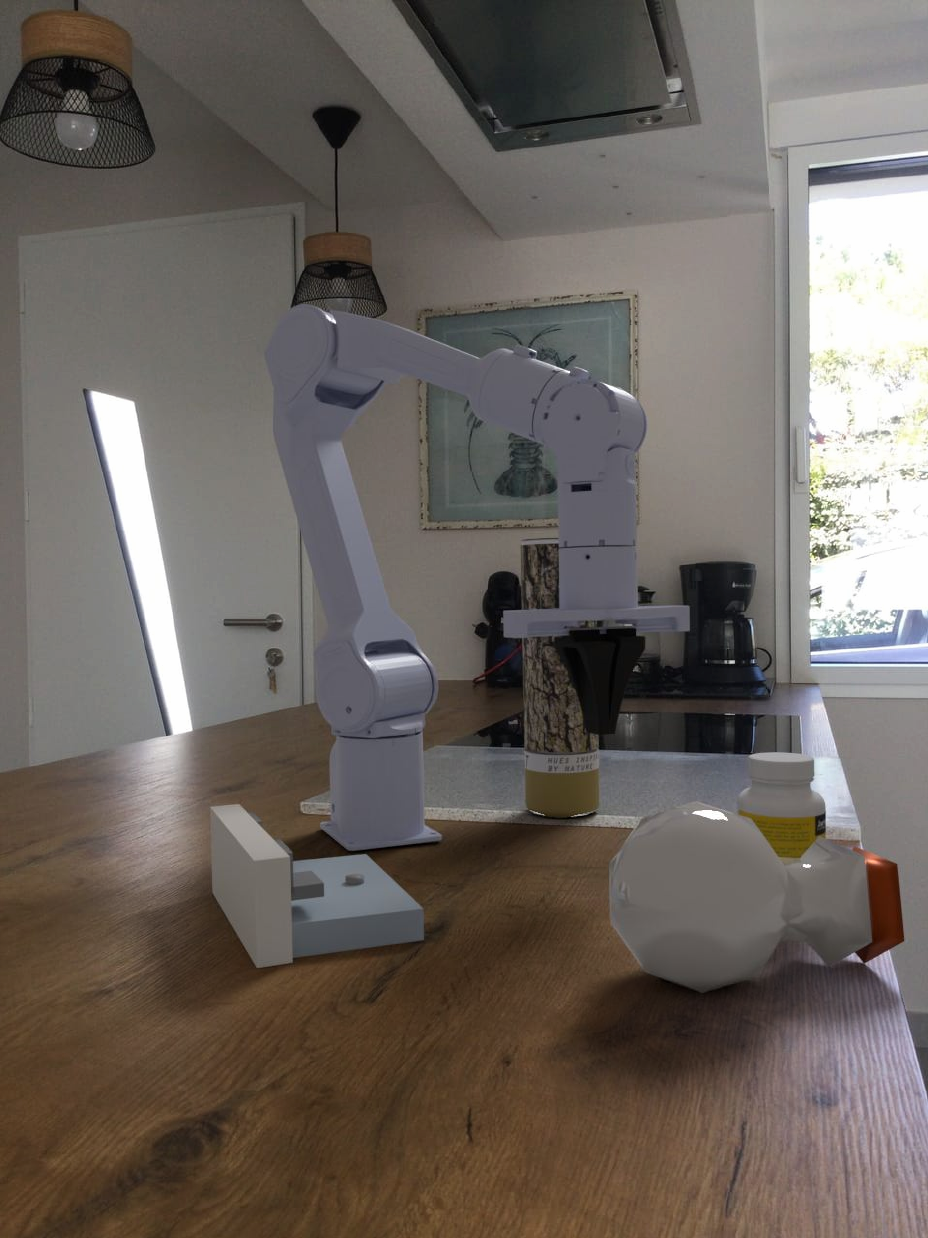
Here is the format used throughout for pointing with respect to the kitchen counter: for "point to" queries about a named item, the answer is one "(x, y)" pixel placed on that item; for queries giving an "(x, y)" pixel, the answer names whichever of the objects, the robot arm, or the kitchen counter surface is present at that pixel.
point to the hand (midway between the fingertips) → (600, 733)
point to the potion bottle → (743, 898)
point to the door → (353, 908)
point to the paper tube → (553, 703)
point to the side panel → (256, 884)
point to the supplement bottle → (784, 802)
